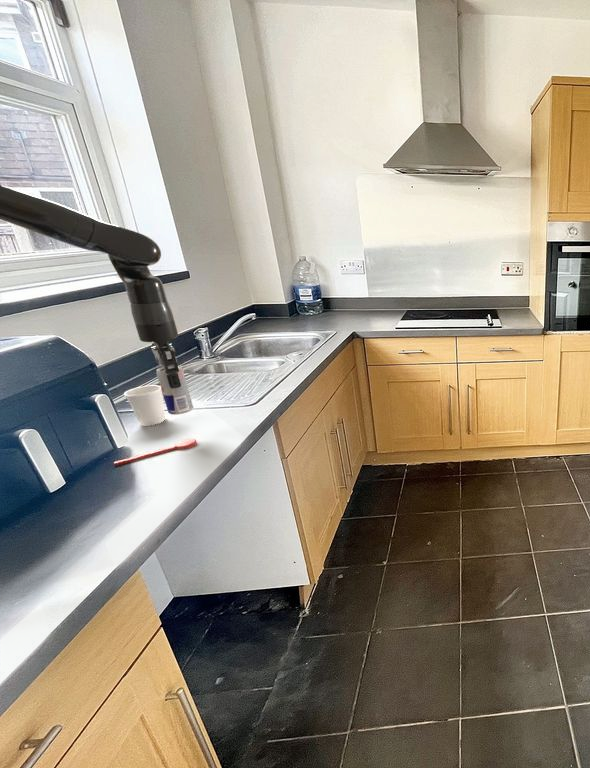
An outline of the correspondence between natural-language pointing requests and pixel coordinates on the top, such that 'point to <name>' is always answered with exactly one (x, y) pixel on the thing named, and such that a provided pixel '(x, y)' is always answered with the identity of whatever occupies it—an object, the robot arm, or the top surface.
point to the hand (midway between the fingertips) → (173, 384)
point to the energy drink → (175, 393)
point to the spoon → (160, 451)
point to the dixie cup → (147, 404)
